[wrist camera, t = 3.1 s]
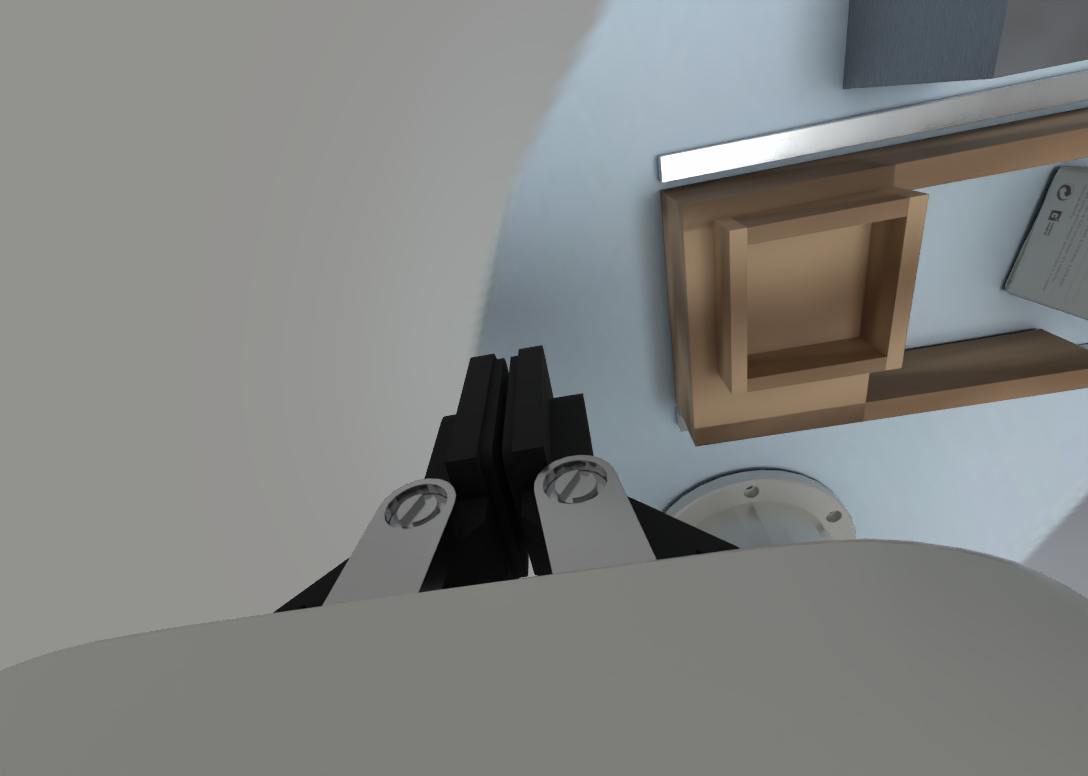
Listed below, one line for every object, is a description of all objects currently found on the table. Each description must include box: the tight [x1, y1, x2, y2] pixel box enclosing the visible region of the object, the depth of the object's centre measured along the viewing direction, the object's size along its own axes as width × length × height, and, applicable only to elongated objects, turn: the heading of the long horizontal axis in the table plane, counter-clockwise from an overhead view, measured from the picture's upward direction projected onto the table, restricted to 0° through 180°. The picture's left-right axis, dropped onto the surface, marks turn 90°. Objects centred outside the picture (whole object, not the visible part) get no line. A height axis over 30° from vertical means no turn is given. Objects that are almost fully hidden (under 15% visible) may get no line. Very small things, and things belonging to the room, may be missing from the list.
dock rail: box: [657, 70, 1088, 431], centre depth 23 cm, size 14×26×3 cm, turn 101°
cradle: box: [661, 108, 1088, 446], centre depth 22 cm, size 11×18×6 cm, turn 101°
